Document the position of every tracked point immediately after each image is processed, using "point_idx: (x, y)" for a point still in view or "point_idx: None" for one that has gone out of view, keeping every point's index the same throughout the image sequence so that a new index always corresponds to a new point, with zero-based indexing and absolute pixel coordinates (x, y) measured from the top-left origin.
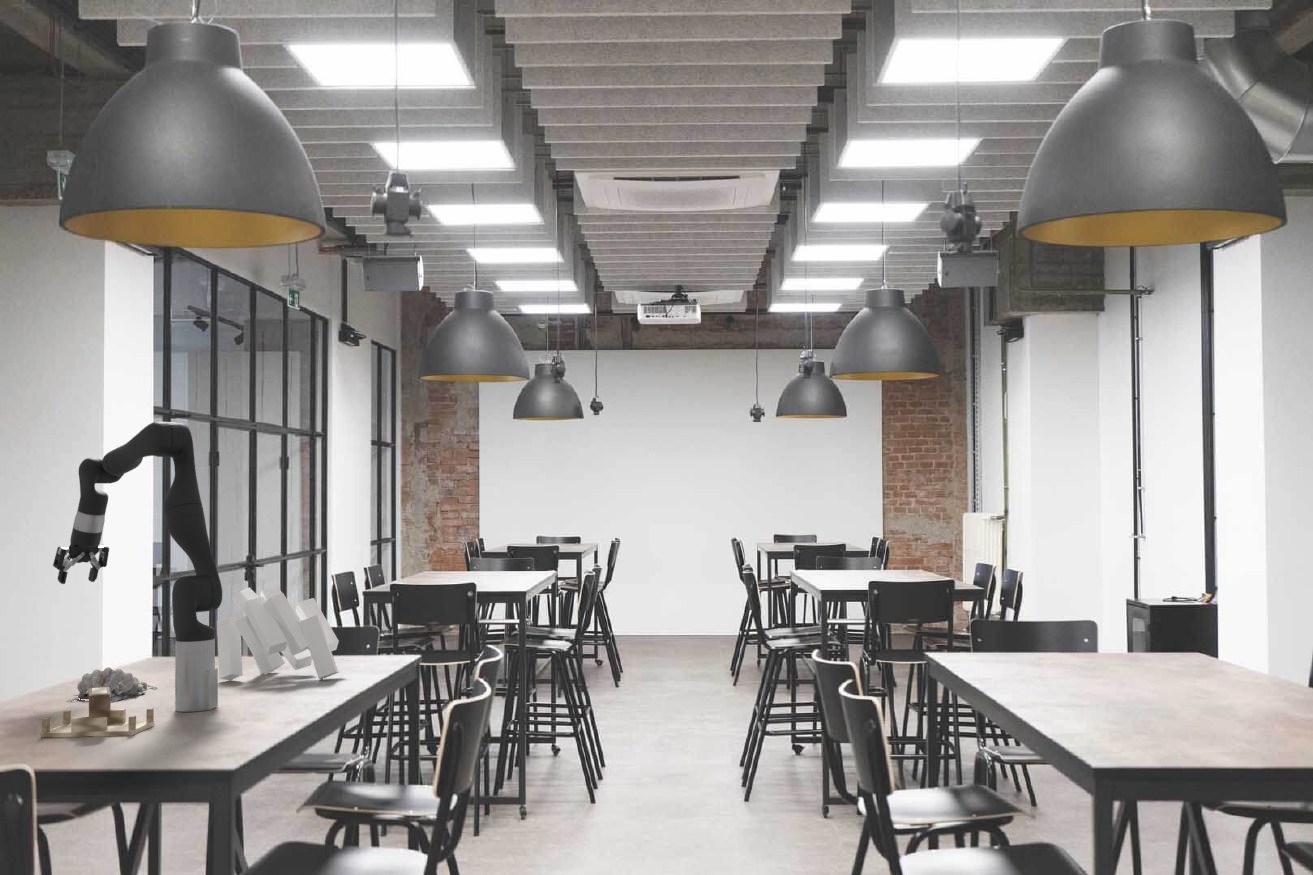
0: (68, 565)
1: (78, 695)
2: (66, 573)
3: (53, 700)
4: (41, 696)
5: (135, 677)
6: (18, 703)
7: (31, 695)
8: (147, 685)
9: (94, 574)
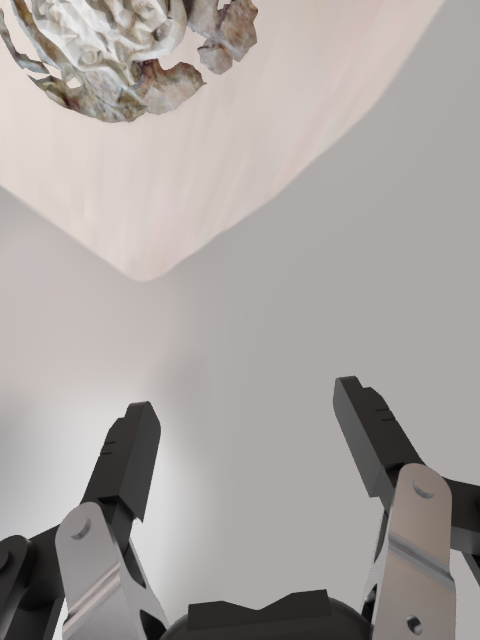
0: (430, 543)
1: (240, 32)
2: (381, 447)
3: (324, 4)
4: (291, 138)
5: (41, 26)
6: (391, 56)
7: (291, 177)
8: (13, 55)
9: (125, 452)
